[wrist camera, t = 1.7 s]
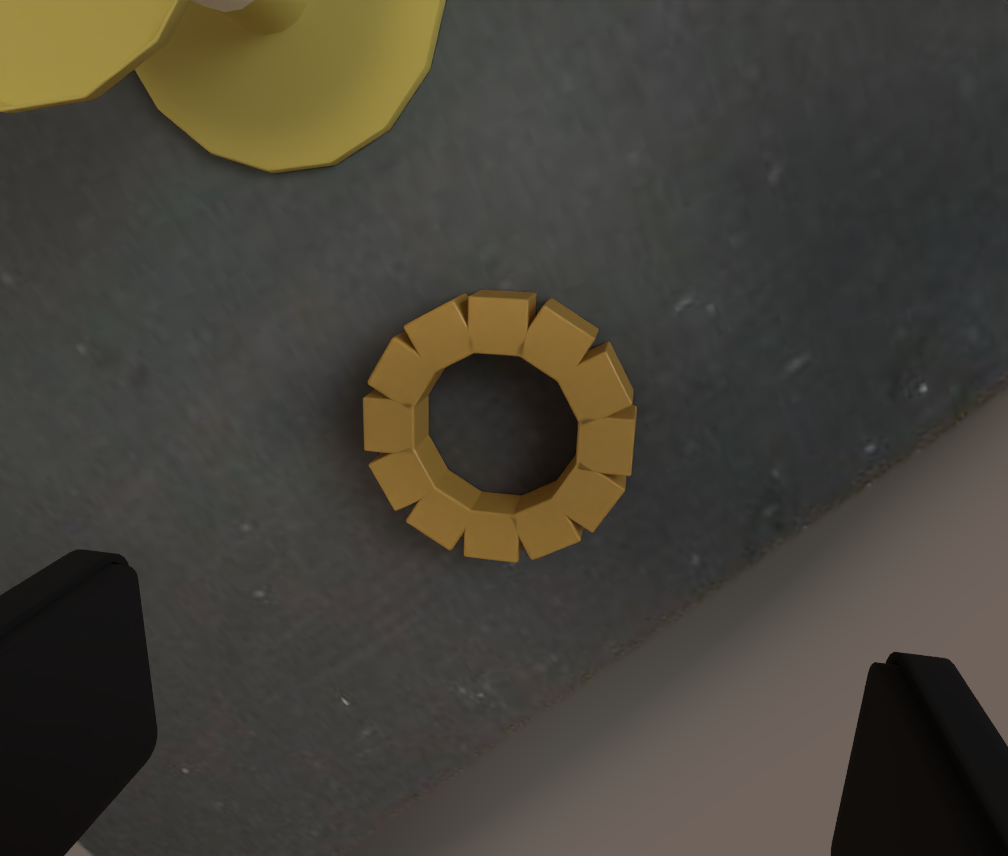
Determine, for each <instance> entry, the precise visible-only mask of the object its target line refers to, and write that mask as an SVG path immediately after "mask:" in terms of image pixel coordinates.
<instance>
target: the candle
mask: <svg viewBox="0 0 1008 856" xmlns="http://www.w3.org/2000/svg"><path fill="white" fill-rule="evenodd" d="M445 2H446V0H0V112H7V113H16V112H22V111H28V110H34V109H40V108H46V107H52V106H58V105H64V104H71V103H77V102H83V101H89V100H94V99H96V98H98V97H99V96H101V95H102V94H103V93H104V92H106V91H107V90H108V89H110V88H111V87H112V86H113V85H115V84H116V83H117V82H119V81H120V80H121V79H122V78H124V77H125V76H126V75H128V74H129V73H130V72H131V71H133V70H134V69H135V71H136V73H137V74H138V76H139V78H140V79H141V81H142V83H143V85H144V86H145V88H146V90H147V91H148V93H149V95H150V96H151V98H152V100H153V101H154V103H155V105H156V107H157V108H158V110H159V111H161V112H162V113H163V114H164V115H165V116H167V117H168V118H169V119H170V120H171V121H172V122H174V123H175V124H176V125H177V126H178V127H180V128H181V129H182V130H183V131H184V132H186V133H187V134H188V135H189V136H190V137H192V138H193V139H194V140H195V141H196V142H198V143H199V144H200V145H201V146H202V147H204V148H205V149H206V150H207V151H208V152H210V153H211V154H213V155H216V156H219V157H222V158H226V159H229V160H232V161H235V162H238V163H241V164H245V165H248V166H251V167H254V168H257V169H260V170H264V171H267V172H270V173H280V172H288V171H295V170H303V169H310V168H318V167H325V166H333V165H337V164H338V163H340V162H341V161H343V160H344V159H346V158H347V157H349V156H351V155H352V154H354V153H355V152H357V151H358V150H360V149H361V148H363V147H364V146H366V145H367V144H369V143H371V142H372V141H374V140H375V139H377V138H378V137H380V136H381V135H383V134H384V133H386V132H387V131H389V130H390V129H391V128H392V126H393V125H394V123H395V122H396V120H397V119H398V117H399V116H400V114H401V113H402V111H403V110H404V108H405V107H406V105H407V104H408V102H409V101H410V99H411V98H412V96H413V95H414V93H415V92H416V90H417V89H418V87H419V86H420V84H421V83H422V81H423V80H424V78H425V77H426V75H427V74H428V72H429V71H430V68H431V64H432V59H433V55H434V51H435V46H436V42H437V37H438V33H439V29H440V24H441V20H442V15H443V11H444V7H445Z"/></svg>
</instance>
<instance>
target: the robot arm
mask: <svg viewBox="0 0 1008 856" xmlns="http://www.w3.org/2000/svg"><path fill="white" fill-rule="evenodd" d="M156 741H157V724H156V716H155V708H154V700H153V692H152V684H151V677H150V669H149V661H148V653H147V645H146V637H145V630H144V622H143V614H142V606H141V598H140V590H139V583H138V577H137V573H136V571H135V570H134V569H133V568H132V567H130V566H129V565H128V562H127V561H126V559H125V558H124V557H123V556H121V555H120V554H114V553H106V552H98V551H90V550H75V551H72V552H70V553H68V554H67V555H65V556H63V557H62V558H60V559H58V560H57V561H55V562H54V563H52V564H50V565H49V566H47V567H46V568H44V569H42V570H41V571H39V572H38V573H36V574H34V575H33V576H31V577H29V578H28V579H26V580H25V581H23V582H21V583H20V584H18V585H17V586H15V587H13V588H12V589H10V590H9V591H7V592H5V593H4V594H2V595H0V856H64V855H65V854H66V853H67V852H68V851H69V850H70V848H71V847H72V846H73V845H74V844H75V843H76V842H77V840H78V839H79V838H80V837H81V836H82V835H83V834H84V833H85V831H86V830H87V829H88V828H89V827H90V826H91V825H92V823H93V822H94V821H95V820H96V819H97V818H98V817H99V816H100V814H101V813H102V812H103V811H104V810H105V809H106V808H107V806H108V805H109V804H110V803H111V802H112V801H113V800H114V799H115V797H116V796H117V795H118V794H119V793H120V792H121V791H122V789H123V788H124V787H125V786H126V785H127V784H128V783H129V781H130V780H131V779H132V778H133V777H134V776H135V775H136V774H137V772H138V771H139V770H140V769H141V768H142V767H143V766H144V764H145V763H146V762H147V761H148V759H149V758H150V756H151V754H152V752H153V750H154V748H155V745H156ZM831 856H1008V746H1007V745H1006V743H1005V742H1004V740H1003V739H1002V737H1001V736H1000V734H999V733H998V731H997V729H996V728H995V726H994V725H993V723H992V722H991V720H990V719H989V717H988V716H987V714H986V713H985V712H984V710H983V708H982V707H981V705H980V703H979V702H978V700H977V699H976V697H975V696H974V694H973V693H972V692H971V690H970V688H969V687H968V685H967V684H966V682H965V681H964V679H963V678H962V676H961V675H960V673H959V671H958V670H957V668H956V667H955V665H954V664H953V663H952V662H951V661H950V660H949V659H946V658H939V657H931V656H923V655H915V654H908V653H900V652H893V653H892V654H890V655H889V657H888V659H887V661H886V664H885V663H877V662H875V663H873V664H872V665H871V667H870V669H869V672H868V676H867V681H866V685H865V690H864V695H863V699H862V704H861V709H860V713H859V718H858V723H857V728H856V732H855V737H854V742H853V747H852V751H851V756H850V760H849V765H848V770H847V775H846V779H845V784H844V789H843V793H842V798H841V803H840V807H839V812H838V817H837V822H836V826H835V831H834V836H833V840H832V846H831Z"/></svg>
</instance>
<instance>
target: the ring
mask: <svg viewBox="0 0 1008 856" xmlns="http://www.w3.org/2000/svg"><path fill="white" fill-rule="evenodd" d="M536 297H537V294H536V293H535V292H518V291H500V290H483V289H482V290H479V291H478V292H476V293H474V294H472V295H470V296H469V297H468V295H467V294H466V293H464V294H462V295H460V296H458V297H456V298H454V299H452V300H450V301H449V302H447V303H445V304H443V305H441V306H439V307H437V308H435V309H434V310H432V311H430V312H428V313H426V314H424V315H422V316H421V317H419V318H417V319H415V320H413V321H411V322H409V323H407V324H406V325H404V329H405V331H404V332H402V333H400V334H398V335H396V336H394V337H393V338H392V339H391V340H390V342H389V344H388V346H387V347H386V349H385V351H384V353H383V355H382V356H381V358H380V360H379V362H378V363H377V365H376V367H375V369H374V370H373V372H372V374H371V376H370V377H369V379H368V385H370V386H371V387H373V388H374V389H375V390H373V391H372V392H370V393H369V394H368V395H366V396H365V397H363V423H364V450H365V451H372V452H381V453H380V454H379V455H378V456H377V457H376V458H375V459H374V460H373V461H371V462H370V463H369V467H370V469H371V470H372V472H373V474H374V476H375V477H376V479H377V481H378V483H379V484H380V486H381V488H382V489H383V491H384V493H385V495H386V496H387V498H388V500H389V502H390V503H391V505H392V507H393V508H394V510H395V511H397V510H399V509H402V508H404V507H406V506H408V505H411V504H413V503H415V502H417V501H418V502H417V503H416V505H415V506H414V508H413V509H412V511H411V513H410V514H409V516H408V517H407V519H406V522H407V523H408V524H410V525H411V526H413V527H414V528H416V529H417V530H419V531H420V532H422V533H423V534H425V535H427V536H428V537H430V538H431V539H433V540H434V541H436V542H437V543H439V544H440V545H442V546H443V547H445V548H446V549H448V550H452V549H453V548H454V546H455V545H456V543H457V542H458V540H459V539H460V537H461V536H462V534H463V533H464V556H465V557H472V558H481V559H489V560H498V561H506V562H514V563H516V562H518V560H519V557H520V554H521V551H522V549H523V546H524V548H525V549H526V551H527V553H528V555H529V557H530V559H531V560H535V559H537V558H540V557H542V556H545V555H547V554H550V553H552V552H555V551H557V550H560V549H562V548H565V547H567V546H570V545H573V544H575V543H578V542H579V541H580V540H581V536H582V532H583V527H584V528H586V529H587V530H589V531H590V532H592V533H593V532H594V531H595V529H596V528H597V527H598V526H599V524H600V523H601V522H602V520H603V519H604V518H605V516H606V515H607V514H608V512H609V511H610V510H611V509H612V507H613V506H614V505H615V503H616V502H617V501H618V499H619V498H620V497H621V495H622V494H623V493H624V491H625V485H626V476H630V475H631V470H632V459H633V448H634V437H635V425H636V413H637V407H636V406H635V405H632V403H633V393H634V390H633V388H632V386H631V384H630V382H629V380H628V378H627V375H626V373H625V371H624V369H623V367H622V365H621V363H620V361H619V359H618V357H617V355H616V353H615V351H614V349H613V347H612V345H611V343H610V342H609V341H607V342H605V343H603V344H601V345H599V346H597V347H595V348H593V349H590V350H588V349H589V348H590V346H591V345H592V344H593V342H594V341H595V338H596V336H597V333H598V328H597V327H595V326H593V325H592V324H590V323H589V322H587V321H586V320H584V319H583V318H581V317H580V316H578V315H577V314H575V313H574V312H572V311H571V310H569V309H568V308H566V307H565V306H563V305H562V304H560V303H559V302H557V301H556V300H554V299H553V298H550V299H549V300H548V301H547V302H546V303H545V304H544V305H543V306H542V308H541V309H540V311H539V312H538V314H537V315H536ZM474 353H480V354H494V355H508V356H519V357H521V358H522V359H524V360H525V361H527V362H529V363H530V364H532V365H533V366H535V367H536V368H538V369H539V370H541V371H542V372H544V373H545V374H547V375H548V376H550V377H551V378H553V379H554V380H556V381H557V382H558V384H559V386H560V387H561V389H562V391H563V393H564V395H565V397H566V399H567V401H568V403H569V405H570V407H571V409H572V411H573V413H574V415H575V417H576V419H577V421H578V431H577V447H576V454H575V456H574V457H573V459H572V460H571V461H570V463H569V464H568V466H567V467H566V468H565V470H564V471H563V473H562V474H561V475H560V477H559V478H558V480H557V481H554V482H552V483H550V484H547V485H545V486H543V487H540V488H538V489H536V490H533V491H531V492H529V493H526V494H524V495H512V494H502V493H492V492H483V491H480V490H478V489H477V488H475V487H474V486H472V485H471V484H469V483H468V482H466V481H465V480H463V479H462V478H460V477H459V476H457V475H456V474H454V473H453V472H451V471H450V470H448V468H447V466H446V465H445V463H444V461H443V459H442V457H441V456H440V454H439V452H438V450H437V448H436V447H435V445H434V443H433V441H432V439H431V438H430V436H429V394H430V392H431V390H432V389H433V387H434V386H435V384H436V382H437V381H438V379H439V377H440V376H441V374H442V372H443V371H444V369H445V368H446V367H448V366H450V365H452V364H454V363H456V362H458V361H460V360H462V359H464V358H466V357H468V356H470V355H472V354H474Z"/></svg>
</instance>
